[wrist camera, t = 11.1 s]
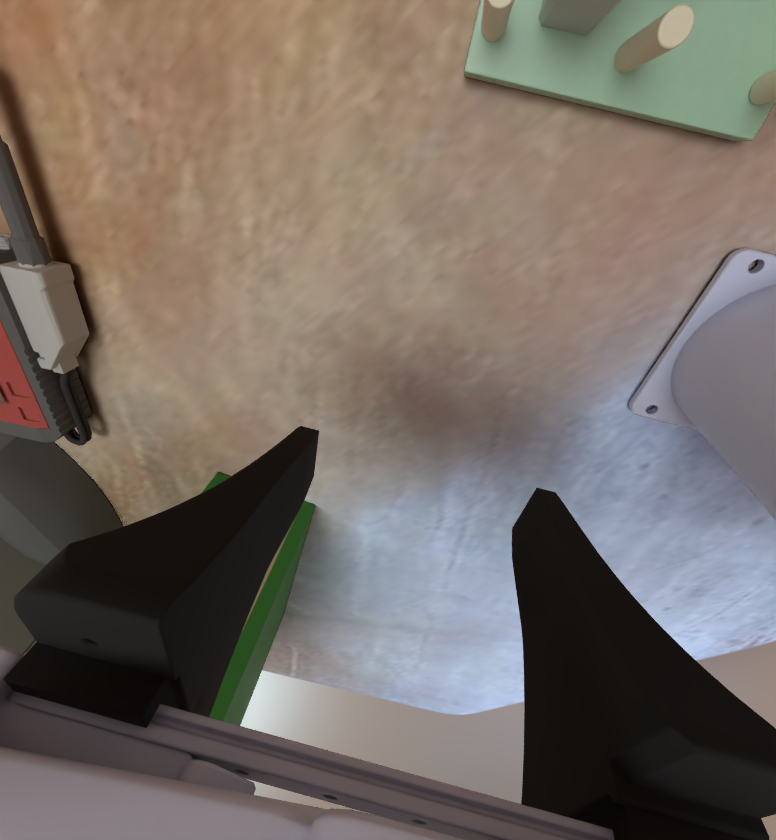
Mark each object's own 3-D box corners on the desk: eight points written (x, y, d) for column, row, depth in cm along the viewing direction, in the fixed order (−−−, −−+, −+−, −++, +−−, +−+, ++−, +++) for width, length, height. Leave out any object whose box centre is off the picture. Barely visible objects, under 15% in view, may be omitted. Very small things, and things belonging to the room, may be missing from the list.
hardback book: (217, 471, 28) (-357, 1207, 8) (315, 505, 28) (-21, 1290, 9) (210, 594, 38) (-57, 1056, 19) (282, 617, 38) (93, 1096, 19)
